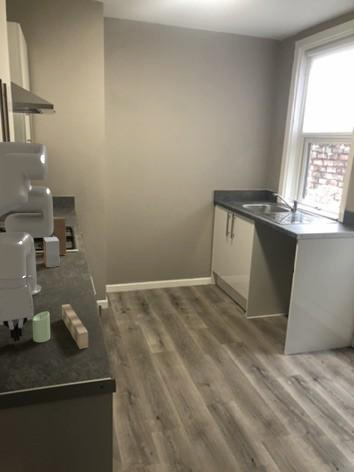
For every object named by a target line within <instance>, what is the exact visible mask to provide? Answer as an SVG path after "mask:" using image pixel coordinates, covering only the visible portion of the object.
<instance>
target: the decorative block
mask: <svg viewBox="0 0 354 472" xmlns="http://www.w3.org/2000/svg"><path fill="white" fill-rule="evenodd" d="M66 221H67V219H66V217H64V216H53V222H54V229H53V237H57V238H58V240H59V255H63V256H65V255H64V254H66V255H67V227H66V225H67V224H66V223H67V222H66ZM43 250H44V245H43Z"/></svg>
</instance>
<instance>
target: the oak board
mask: <svg viewBox="0 0 354 472" xmlns="http://www.w3.org/2000/svg"><path fill="white" fill-rule="evenodd" d="M61 319H62V321H63V322H64V325H65V326H66V328H67V329H68V331H69V333H70V335H71V336H72V338H73V340H74V341H75V344H76V346H77V347H78V348H79V350H82V349H86V348H89V331H88V330H87V328H86V327H85V326H84V324H83V322H82V321H81V319H80V318H79V317H78V315H77V314H76V312H75V311H74V309H73V308H72V306H71V305H70V303H68V304H67V303H66V304H62V305H61Z"/></svg>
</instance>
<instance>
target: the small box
mask: <svg viewBox="0 0 354 472" xmlns="http://www.w3.org/2000/svg"><path fill="white" fill-rule="evenodd" d="M42 240H43V246H44V249H43V260H44V261H43V263H44V265H45V267H46V268H47V267H49V268H57V267H56V266H59V267H61V262H60V256H59V240H58V238H57V237H54V236H49V237H43V239H42Z"/></svg>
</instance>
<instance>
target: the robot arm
mask: <svg viewBox="0 0 354 472" xmlns="http://www.w3.org/2000/svg"><path fill="white" fill-rule="evenodd" d="M48 153H49V152H48V148H47V147H46V145H45V144H43V143H39V142H22V141H21V142H20V141H0V217H2V216H3V215H6V214H7V213H10V212H12V211H14V212H18V213H13V214H11V213H10V214H9V215H7V217H5V220H4V228H5V232H0V326H3V325H4V326H5V327H7V328H8V329H9V333H10V335H9V336H10V339H12V340H13V343H15V342H19V341H21V337H22V335H23V331H22V328H23V327H24V325H25V324H26V323H27V322H28V321H30V320H31V321H32V319H33V318H34V317H35V314H34V311H35V310H34V299H33V296H35V295H38V294H39V293H40V292H42V291H41V290H42V286H41V285H40V284H38V283H37V282H38V281H37V279H38V278H37V259H36V258H37V257H36V256H37V255H36V248H35V241H34V240H35V239H36V238H45V237H52V235H54V233H53V229H54V222H53V217H54V207H53V204H54V202H53V200H54V199H53V195H52V192H51V189H50V188H49V187H48V186H44V185H32V183H31V181H43V180H45V179H46V178H47V176H48V171H49V154H48ZM19 212H20V213H19ZM22 212H23V213H22ZM27 212H28V213H27ZM30 212H35V213H30ZM14 320H17V321H16V324H14V322H13V321H14Z"/></svg>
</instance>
